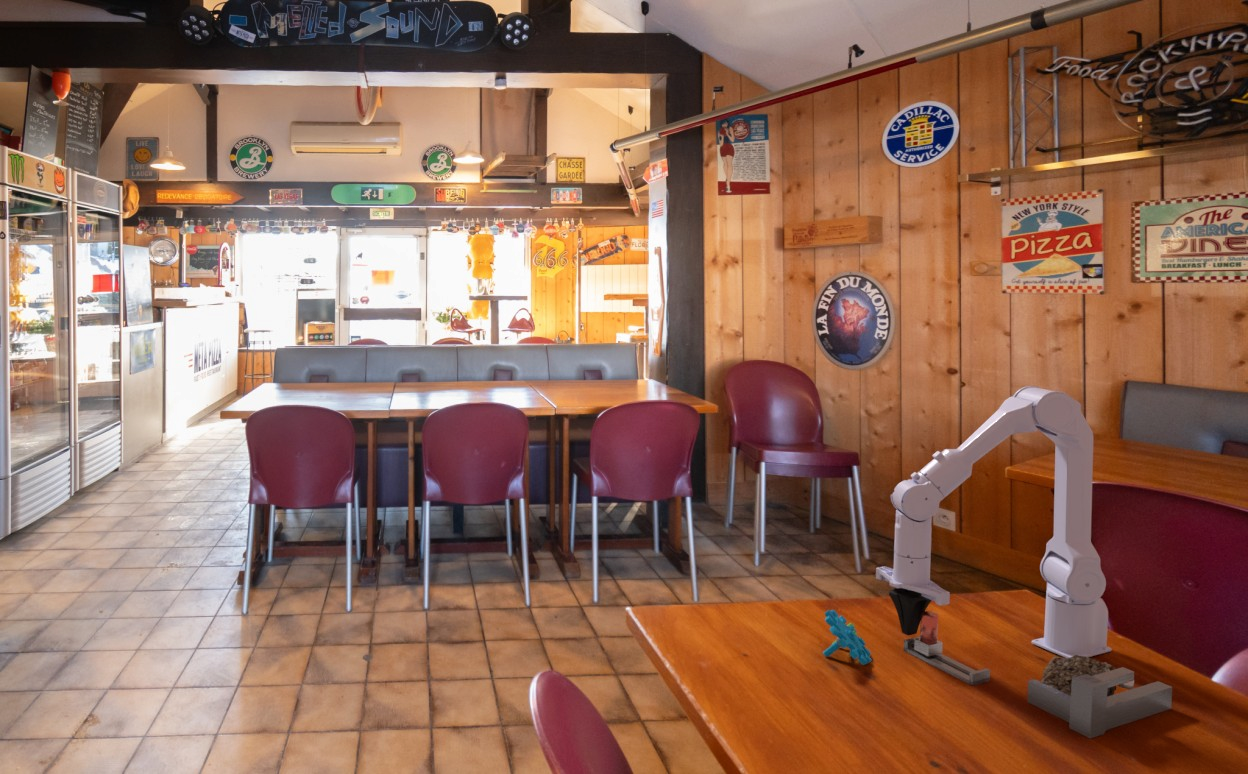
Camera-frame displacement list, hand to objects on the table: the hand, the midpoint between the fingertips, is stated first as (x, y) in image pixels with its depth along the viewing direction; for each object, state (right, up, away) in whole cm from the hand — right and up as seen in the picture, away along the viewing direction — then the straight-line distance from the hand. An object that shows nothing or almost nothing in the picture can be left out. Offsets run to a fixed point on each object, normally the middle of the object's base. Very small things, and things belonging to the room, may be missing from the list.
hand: (909, 633), depth 136 cm
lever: (+2, -3, -4) cm, 5 cm away
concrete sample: (+18, -5, -17) cm, 26 cm away
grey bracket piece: (+20, -4, -20) cm, 29 cm away
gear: (-11, -3, -4) cm, 12 cm away
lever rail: (+3, -3, -7) cm, 8 cm away
